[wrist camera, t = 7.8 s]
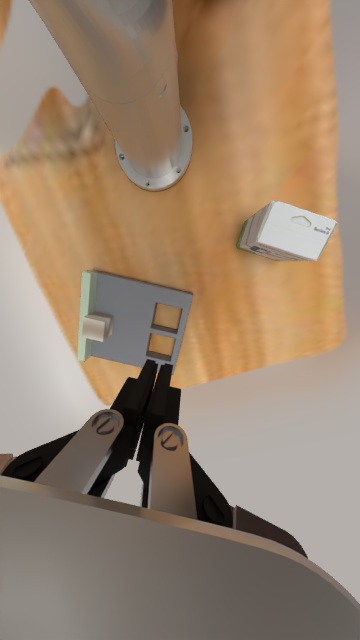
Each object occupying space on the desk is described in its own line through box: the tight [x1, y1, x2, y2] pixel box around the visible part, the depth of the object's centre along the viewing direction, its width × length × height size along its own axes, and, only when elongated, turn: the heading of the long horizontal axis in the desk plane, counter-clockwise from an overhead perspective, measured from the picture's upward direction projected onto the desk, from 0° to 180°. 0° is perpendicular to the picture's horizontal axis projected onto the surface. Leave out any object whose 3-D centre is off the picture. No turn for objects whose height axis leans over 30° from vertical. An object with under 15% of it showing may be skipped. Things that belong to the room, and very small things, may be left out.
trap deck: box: [77, 270, 193, 375], centre depth 37 cm, size 18×21×5 cm
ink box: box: [237, 201, 337, 261], centre depth 27 cm, size 9×5×12 cm, turn 74°
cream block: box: [82, 312, 114, 342], centre depth 35 cm, size 4×4×4 cm
